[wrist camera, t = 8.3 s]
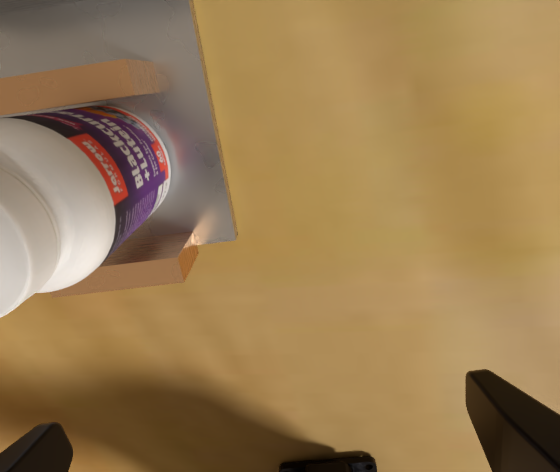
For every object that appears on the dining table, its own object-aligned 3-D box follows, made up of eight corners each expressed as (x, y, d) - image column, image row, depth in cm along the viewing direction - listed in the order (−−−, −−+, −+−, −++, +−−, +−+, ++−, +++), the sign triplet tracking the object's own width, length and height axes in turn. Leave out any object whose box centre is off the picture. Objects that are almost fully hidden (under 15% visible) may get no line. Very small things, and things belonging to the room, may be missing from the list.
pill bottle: (195, 150, 18) (99, 227, 9) (140, 239, 19) (13, 381, 10) (85, 76, 16) (-158, 76, 7) (37, 178, 18) (-207, 277, 9)
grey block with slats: (239, 242, 20) (216, 323, 13) (56, 264, 21) (-52, 352, 14) (158, -173, 14) (43, -401, 7) (-98, -122, 15) (-419, -289, 8)
